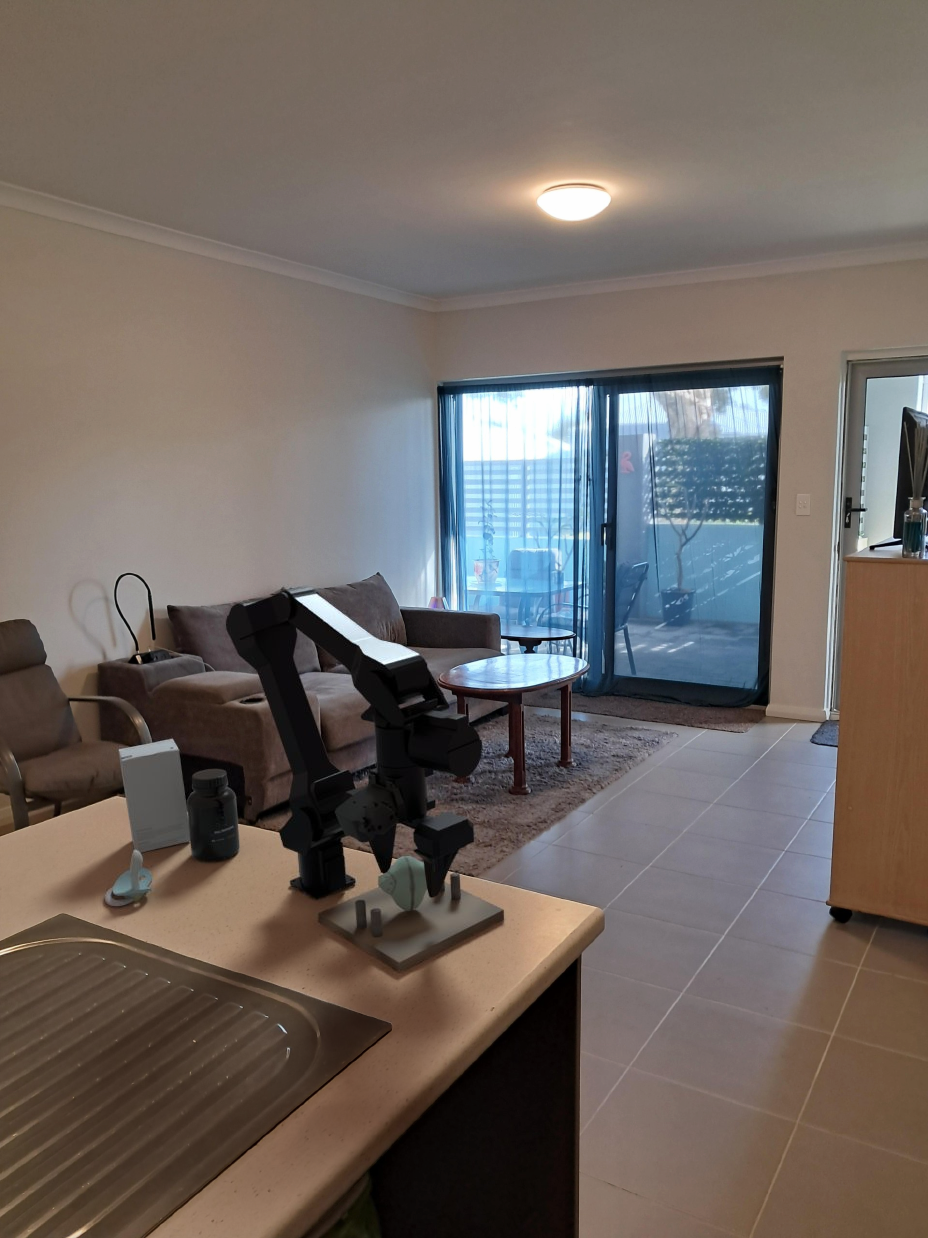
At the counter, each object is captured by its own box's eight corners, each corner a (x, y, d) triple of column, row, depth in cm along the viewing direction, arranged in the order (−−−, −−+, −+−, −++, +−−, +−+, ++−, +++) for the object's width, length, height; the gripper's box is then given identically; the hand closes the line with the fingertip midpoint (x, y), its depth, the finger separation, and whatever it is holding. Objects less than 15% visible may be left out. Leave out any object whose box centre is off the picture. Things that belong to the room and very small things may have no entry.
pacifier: (103, 914, 119) (152, 904, 121) (95, 869, 118) (145, 859, 120) (107, 889, 126) (153, 880, 128) (100, 846, 125) (147, 837, 127)
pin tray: (318, 922, 114) (315, 890, 113) (419, 877, 125) (417, 848, 124) (399, 972, 102) (397, 937, 102) (504, 919, 113) (502, 886, 112)
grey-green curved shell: (382, 924, 110) (378, 871, 109) (372, 909, 114) (369, 857, 113) (445, 910, 113) (443, 857, 112) (434, 895, 117) (432, 844, 116)
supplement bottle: (227, 864, 131) (219, 783, 129) (183, 862, 133) (174, 782, 131) (248, 844, 138) (241, 766, 136) (205, 842, 139) (197, 765, 137)
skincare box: (186, 829, 144) (176, 737, 142) (191, 843, 139) (181, 747, 136) (128, 841, 141) (117, 746, 138) (132, 856, 136) (120, 758, 133)
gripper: (299, 760, 111) (309, 883, 114) (396, 799, 98) (404, 937, 100) (374, 738, 119) (382, 853, 121) (474, 771, 105) (480, 900, 108)
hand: (408, 884), depth 113 cm, fingers open, 9 cm apart
